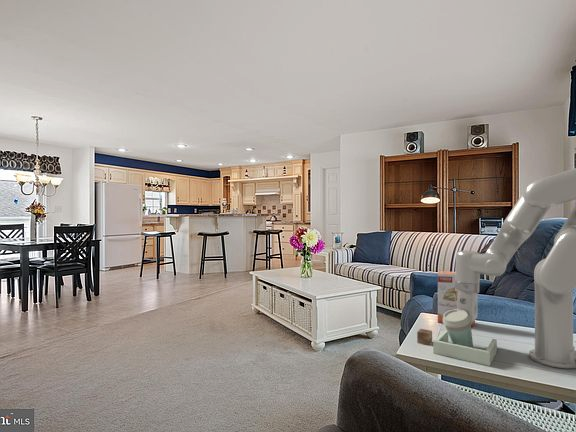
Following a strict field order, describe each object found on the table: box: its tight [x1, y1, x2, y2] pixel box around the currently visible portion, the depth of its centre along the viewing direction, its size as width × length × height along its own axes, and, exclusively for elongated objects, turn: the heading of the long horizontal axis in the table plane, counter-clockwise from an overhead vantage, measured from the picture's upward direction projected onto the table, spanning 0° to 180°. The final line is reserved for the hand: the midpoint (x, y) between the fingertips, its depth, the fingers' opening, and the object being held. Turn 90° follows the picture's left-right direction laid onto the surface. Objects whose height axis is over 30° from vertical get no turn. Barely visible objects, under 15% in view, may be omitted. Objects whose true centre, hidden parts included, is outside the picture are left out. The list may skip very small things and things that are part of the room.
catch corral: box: [432, 329, 498, 367], centre depth 117 cm, size 16×14×4 cm
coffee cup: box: [442, 309, 474, 348], centre depth 118 cm, size 9×9×12 cm
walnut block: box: [416, 328, 433, 346], centre depth 126 cm, size 4×4×4 cm
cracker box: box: [437, 270, 476, 327], centre depth 147 cm, size 14×6×21 cm, turn 67°
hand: (465, 339), depth 123 cm, fingers closed
